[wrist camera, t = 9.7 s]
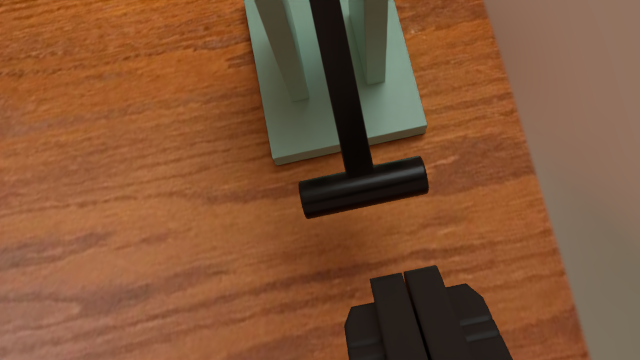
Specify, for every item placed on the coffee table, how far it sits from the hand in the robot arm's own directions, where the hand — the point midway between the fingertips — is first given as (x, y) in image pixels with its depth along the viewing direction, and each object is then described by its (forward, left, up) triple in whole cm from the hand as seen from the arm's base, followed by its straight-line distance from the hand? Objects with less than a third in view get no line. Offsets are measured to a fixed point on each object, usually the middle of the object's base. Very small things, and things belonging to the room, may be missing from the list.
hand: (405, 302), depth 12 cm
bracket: (+11, -8, -15) cm, 20 cm away
